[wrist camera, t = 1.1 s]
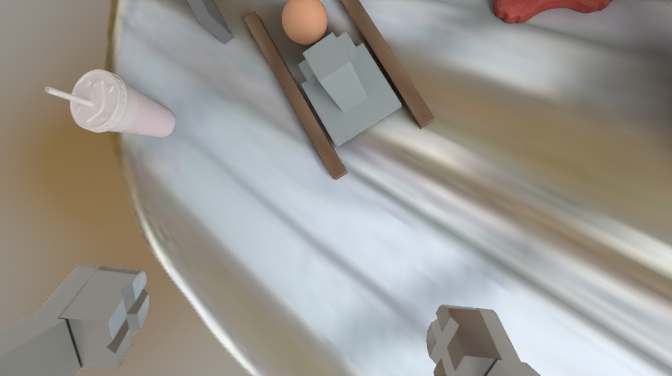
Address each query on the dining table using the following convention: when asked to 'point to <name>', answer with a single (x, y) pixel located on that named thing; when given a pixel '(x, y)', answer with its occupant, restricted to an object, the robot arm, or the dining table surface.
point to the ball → (304, 20)
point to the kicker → (346, 87)
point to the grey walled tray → (211, 19)
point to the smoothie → (115, 106)
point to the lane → (300, 102)
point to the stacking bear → (541, 7)
